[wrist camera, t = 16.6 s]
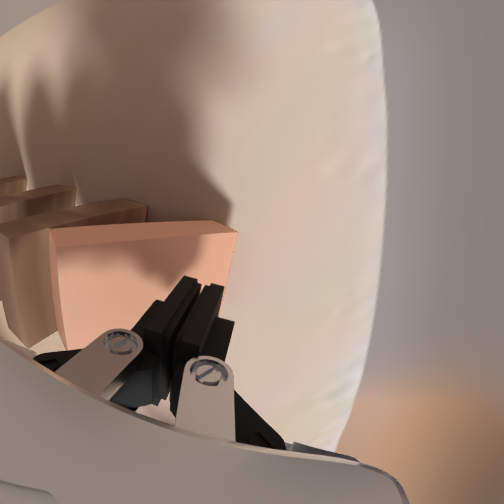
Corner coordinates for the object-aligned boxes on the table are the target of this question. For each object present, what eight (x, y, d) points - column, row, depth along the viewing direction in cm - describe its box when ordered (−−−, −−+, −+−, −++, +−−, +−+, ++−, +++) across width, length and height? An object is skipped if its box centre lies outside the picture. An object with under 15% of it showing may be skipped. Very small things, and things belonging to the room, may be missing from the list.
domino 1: (238, 231, 14) (57, 247, 7) (220, 313, 16) (69, 358, 9) (213, 220, 15) (48, 228, 9) (198, 297, 17) (58, 331, 10)
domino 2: (147, 205, 15) (9, 239, 7) (139, 282, 17) (28, 348, 8) (122, 198, 15) (-8, 225, 7) (116, 271, 17) (8, 327, 9)
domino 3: (76, 188, 15) (-31, 217, 7) (73, 256, 17) (-16, 311, 8) (57, 184, 16) (-44, 210, 7) (55, 250, 17) (-32, 298, 9)
